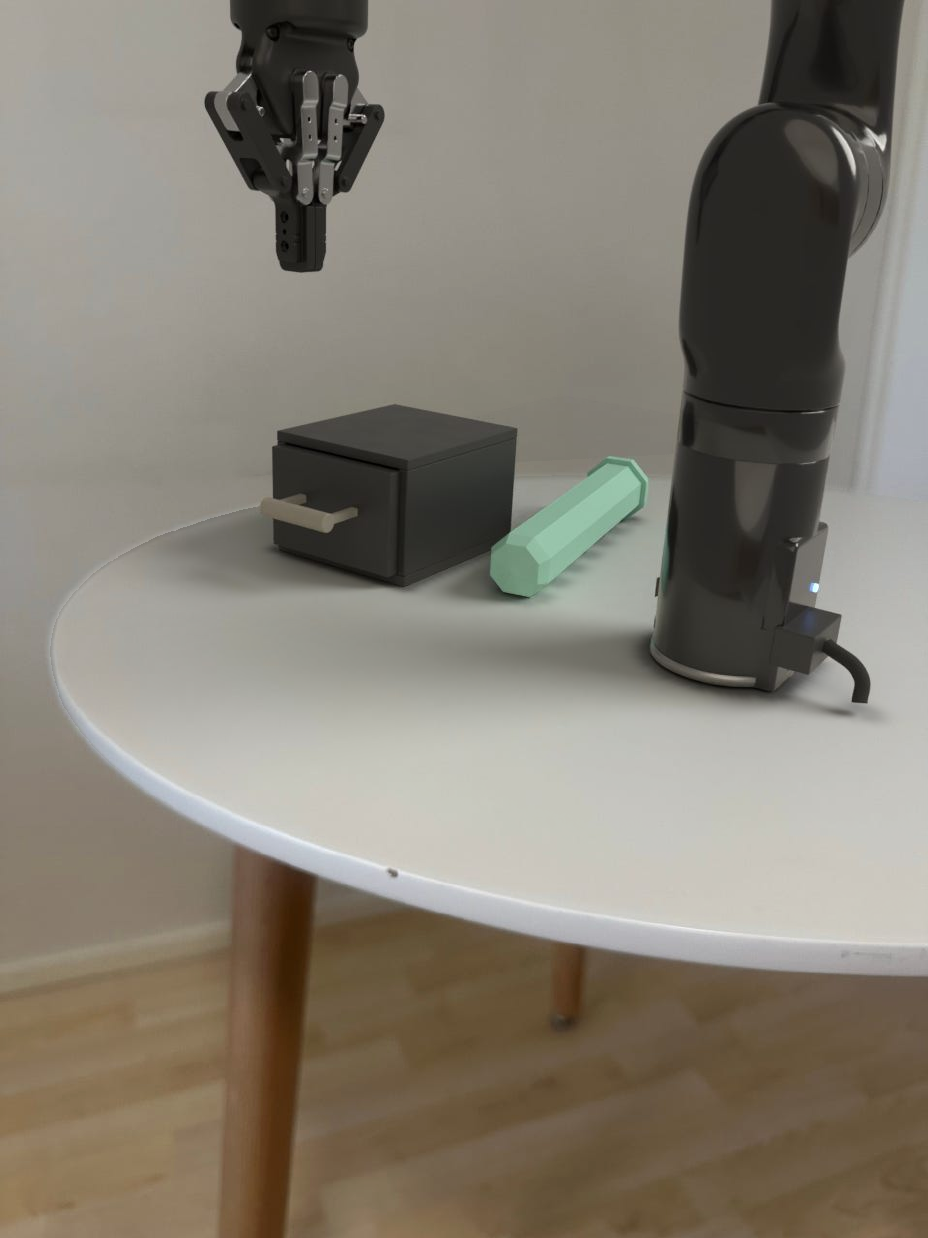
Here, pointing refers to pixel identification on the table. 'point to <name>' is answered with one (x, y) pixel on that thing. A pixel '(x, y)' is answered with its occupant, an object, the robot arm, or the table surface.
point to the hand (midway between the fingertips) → (300, 270)
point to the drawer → (335, 508)
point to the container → (568, 526)
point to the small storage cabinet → (427, 480)
